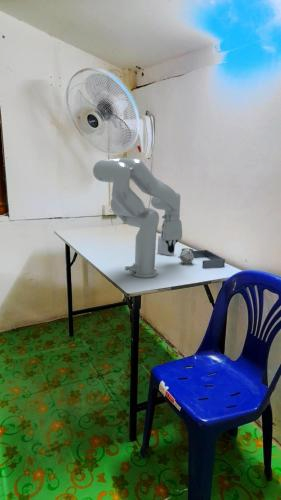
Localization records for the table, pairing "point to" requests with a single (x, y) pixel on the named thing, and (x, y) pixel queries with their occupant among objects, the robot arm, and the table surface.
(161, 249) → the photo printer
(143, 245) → the robot arm
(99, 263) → the table surface
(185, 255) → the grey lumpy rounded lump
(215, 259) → the chassis bay
